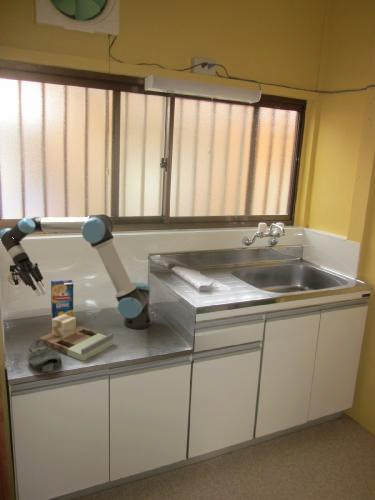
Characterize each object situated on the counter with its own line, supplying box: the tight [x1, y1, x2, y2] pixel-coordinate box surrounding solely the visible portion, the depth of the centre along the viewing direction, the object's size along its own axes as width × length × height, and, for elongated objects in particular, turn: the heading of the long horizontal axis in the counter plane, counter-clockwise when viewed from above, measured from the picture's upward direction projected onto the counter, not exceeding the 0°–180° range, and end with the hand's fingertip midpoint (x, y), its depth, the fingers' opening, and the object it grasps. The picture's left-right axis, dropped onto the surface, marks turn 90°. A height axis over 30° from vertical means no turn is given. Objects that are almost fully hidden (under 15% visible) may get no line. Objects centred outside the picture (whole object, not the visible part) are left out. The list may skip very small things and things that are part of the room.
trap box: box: [38, 324, 99, 356], centre depth 206 cm, size 18×21×3 cm
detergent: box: [27, 339, 63, 374], centre depth 186 cm, size 13×7×25 cm
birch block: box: [51, 314, 77, 338], centre depth 207 cm, size 8×8×8 cm
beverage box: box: [50, 279, 74, 320], centre depth 226 cm, size 7×11×22 cm, turn 111°
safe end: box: [67, 332, 114, 362], centre depth 199 cm, size 10×21×6 cm, turn 150°
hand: (42, 293), depth 211 cm, fingers open, 2 cm apart
